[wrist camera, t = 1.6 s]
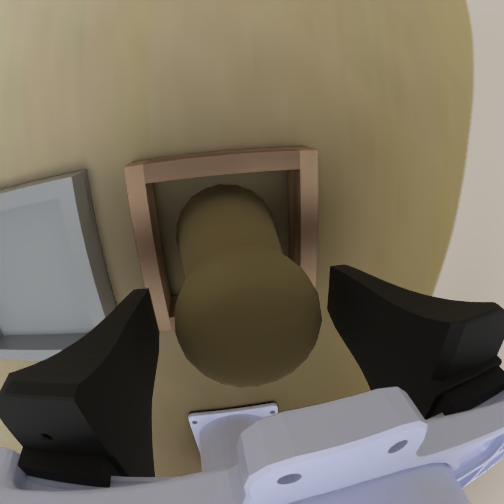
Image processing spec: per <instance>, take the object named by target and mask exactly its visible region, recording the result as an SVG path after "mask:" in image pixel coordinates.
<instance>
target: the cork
mask: <svg viewBox="0 0 504 504" xmlns="http://www.w3.org/2000/svg"><path fill="white" fill-rule="evenodd" d="M177 243H178V248H179V252H180V257H181V261H182V266H183V270H184V275H185V279H186V280H185V282H184V283H183V285H182V287H181V290H180V293H179V296H178V299H177V301H176V304H175V313H174V315H175V333H176V336H177V339H178V342H179V344H180V346H181V348H182V350H183V352H184V354H185V356H186V358H187V359H188V360H189V361H190V362H191V363H192V364H193V365H194V366H195V367H196V368H197V369H198V370H199V371H200V372H201V373H203V374H204V375H205V376H207V377H209V378H211V379H213V380H215V381H217V382H219V383H221V384H226V385H231V386H237V387H249V386H260V385H263V384H267V383H271V382H274V381H277V380H279V379H281V378H282V377H284V376H286V375H288V374H290V373H292V372H293V371H294V370H295V369H296V368H297V367H299V366H300V365H301V364H302V363H303V362H304V361H305V360H306V359H307V357H308V356H309V354H310V352H311V351H312V349H313V348H314V346H315V344H316V341H317V338H318V335H319V330H320V326H321V322H322V317H321V310H320V303H319V297H318V293H317V291H316V289H315V287H314V286H313V284H312V282H311V281H310V279H309V277H308V276H307V274H306V273H305V272H304V270H303V269H302V268H301V267H300V266H298V265H297V264H296V263H295V262H293V261H292V260H291V259H289V258H288V257H287V256H285V255H283V253H282V249H281V246H280V243H279V239H278V236H277V232H276V229H275V226H274V222H273V219H272V216H271V212H270V211H269V209H268V208H267V206H266V204H265V203H264V201H263V200H262V199H261V198H260V197H258V196H257V195H256V194H255V193H254V192H252V191H251V190H248V189H246V188H243V187H240V186H238V185H223V184H220V185H217V186H213V187H209V188H206V189H204V190H202V191H201V192H199V193H198V194H196V195H195V196H193V197H192V198H191V199H190V200H189V201H188V203H187V204H186V205H185V207H184V208H183V209H182V211H181V214H180V217H179V219H178V222H177Z"/></svg>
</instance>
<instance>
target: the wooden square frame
mask: <svg viewBox="0 0 504 504" xmlns="http://www.w3.org/2000/svg"><path fill="white" fill-rule="evenodd" d="M277 170H288V196H289V259H291V260H292V261H293V262H295V263H296V264H297V265H298V266H300V267H301V268H302V269H303V270H304V272H305V273H306V274H307V276H308V277H309V279H310V281H311V282H312V284H313V286H314V287H315V289H316V272H317V241H318V150H316V149H312V148H308V147H304V146H294V147H270V148H253V149H239V150H226V151H215V152H204V153H194V154H185V155H177V156H169V157H161V158H154V159H147V160H140V161H133V162H132V163H130V164H128V165H127V166H125V167H124V172H125V180H126V187H127V194H128V200H129V207H130V213H131V219H132V225H133V230H134V236H135V241H136V246H137V251H138V256H139V261H140V266H141V271H142V276H143V280H144V285H145V288H149V291H150V295H151V300H152V304H153V308H154V312H155V316H156V320H157V324H158V328H159V332H165V331H175V315H174V313H175V304H176V301H177V299H178V296H171V293H170V288H169V283H168V278H167V272H166V267H165V261H164V255H163V249H162V243H161V237H160V231H159V224H158V218H157V211H156V204H155V196H154V189H153V183H154V182H162V181H170V180H178V179H187V178H196V177H205V176H215V175H225V174H237V173H249V172H262V171H277Z"/></svg>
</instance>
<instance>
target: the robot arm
mask: <svg viewBox="0 0 504 504" xmlns="http://www.w3.org/2000/svg"><path fill="white" fill-rule="evenodd" d="M327 309H328V312H329V314H330V317H331V319H332V321H333V323H334V326H335V328H336V329H337V331H338V333H339V334H340V336H341V338H342V339H343V341H344V342H345V344H346V345H347V347H348V349H349V350H350V352H351V353H352V355H353V357H354V358H355V360H356V361H357V363H358V364H359V366H360V368H361V370H362V372H363V374H364V376H365V378H366V380H367V382H368V385H369V387H370V389H371V391H368V392H364V393H361V394H357V395H353V396H350V397H346V398H342V399H338V400H334V401H330V402H326V403H322V404H317V405H313V406H309V407H304V408H299V409H294V410H289V411H284V412H280V413H278V407H277V404H276V403H268V404H262V405H256V406H249V407H242V408H235V409H227V410H219V411H210V412H199V413H191V414H189V415H188V420H189V423H190V426H191V429H192V432H193V434H194V437H195V440H196V443H197V446H198V449H199V451H200V456H201V468H202V472H198V473H194V474H189V475H185V476H180V477H155V472H154V461H153V448H152V395H153V388H154V381H155V374H156V368H157V361H158V354H159V328H158V324H157V320H156V316H155V312H154V308H153V304H152V300H151V295H150V291H149V288H145V289H136V290H133V291H132V292H131V293H130V294H129V295H128V296H127V297H126V298H125V299H124V300H123V301H122V302H121V303H120V304H119V305H118V306H117V307H116V308H115V309H114V310H113V311H112V312H111V313H110V314H109V315H108V316H107V317H105V318H104V319H103V320H102V321H101V322H100V323H99V324H98V325H97V326H96V327H95V328H93V329H92V330H91V331H90V332H88V333H87V334H86V335H85V336H83V337H82V338H80V339H79V340H78V341H76V342H75V343H73V344H72V345H70V346H68V347H67V348H65V349H63V350H62V351H60V352H59V353H57V354H55V355H53V356H51V357H49V358H47V359H45V360H43V361H41V362H39V363H36V364H34V365H32V366H29V367H26V368H23V369H21V370H18V371H15V372H12V373H9V375H8V377H7V379H6V381H5V382H4V384H3V386H2V388H1V390H0V418H1V420H2V421H3V423H4V424H5V426H6V427H7V428H8V429H9V431H10V432H11V433H12V434H13V435H14V437H15V438H16V439H17V440H18V441H19V443H20V444H21V445H22V446H23V449H22V452H21V455H20V454H19V453H17V452H16V451H14V450H11V449H7V448H3V447H0V504H471V503H470V501H469V500H468V498H467V496H466V495H465V493H464V491H463V490H462V488H463V487H465V486H466V485H468V484H469V483H471V482H472V481H473V480H475V479H476V478H478V477H479V476H480V475H482V474H483V473H484V472H485V471H487V470H488V469H490V468H491V467H492V466H493V465H495V464H496V463H497V462H498V461H500V460H501V459H502V458H503V457H504V371H503V370H502V369H501V368H500V367H499V365H501V363H502V361H501V359H500V358H499V357H498V356H497V354H498V351H499V349H500V347H501V344H502V342H503V340H504V309H503V308H502V307H500V306H499V305H498V304H496V303H493V302H464V301H454V300H447V299H442V298H436V297H432V296H427V295H423V294H420V293H416V292H413V291H410V290H407V289H404V288H401V287H398V286H396V285H393V284H390V283H388V282H386V281H383V280H381V279H378V278H376V277H374V276H372V275H369V274H367V273H365V272H363V271H360V270H358V269H355V268H353V267H350V266H347V265H337V266H330V279H329V293H328V306H327Z"/></svg>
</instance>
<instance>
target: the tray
mask: <svg viewBox="0 0 504 504" xmlns="http://www.w3.org/2000/svg"><path fill="white" fill-rule="evenodd" d="M115 308H116V304H115V300H114V297H113V293H112V290H111V286H110V282H109V278H108V274H107V271H106V267H105V263H104V258H103V254H102V250H101V246H100V241H99V236H98V232H97V227H96V222H95V217H94V212H93V206H92V201H91V195H90V189H89V183H88V176H87V170H82V171H77V172H72V173H67V174H63V175H58V176H54V177H49V178H45V179H41V180H36V181H32V182H28V183H24V184H20V185H16V186H13V187H9V188H5V189H2V190H0V359H4V360H34V361H43V360H45V359H47V358H49V357H51V356H53V355H55V354H57V353H59V352H60V351H62V350H63V349H65V348H67V347H68V346H70V345H72V344H73V343H75V342H76V341H78V340H79V339H80V338H82V337H83V336H85V335H86V334H87V333H88V332H90V331H91V330H92V329H93V328H95V327H96V326H97V325H98V324H99V323H100V322H101V321H102V320H103V319H104V318H105V317H107V316H108V315H109V314H110V313H111V312H112V311H113V310H114V309H115Z"/></svg>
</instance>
